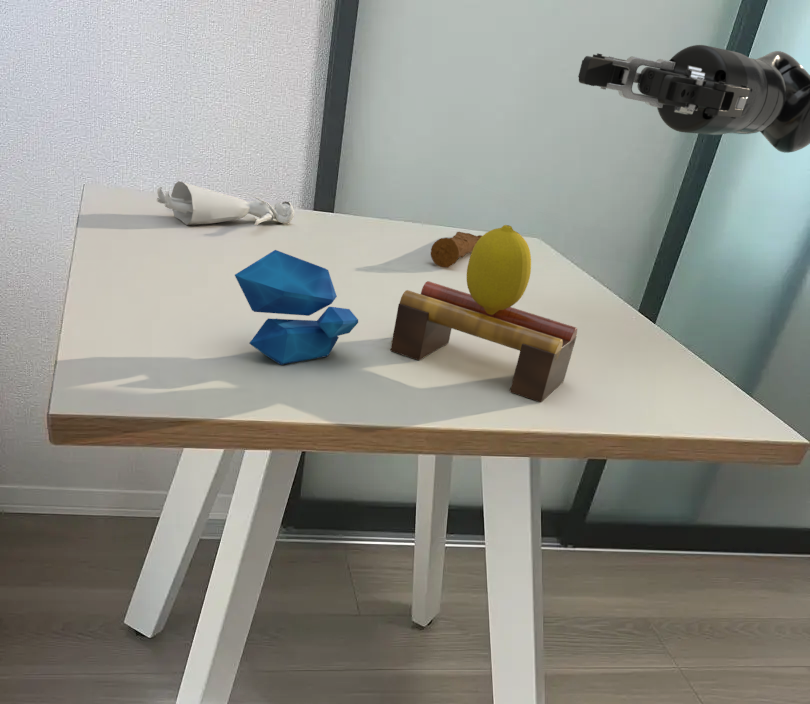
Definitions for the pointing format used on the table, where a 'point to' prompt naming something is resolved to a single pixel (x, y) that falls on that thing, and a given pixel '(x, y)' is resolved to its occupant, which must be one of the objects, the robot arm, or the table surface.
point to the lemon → (499, 269)
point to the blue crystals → (293, 308)
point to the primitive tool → (453, 248)
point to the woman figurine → (219, 206)
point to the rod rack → (486, 335)
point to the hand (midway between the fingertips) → (623, 79)
